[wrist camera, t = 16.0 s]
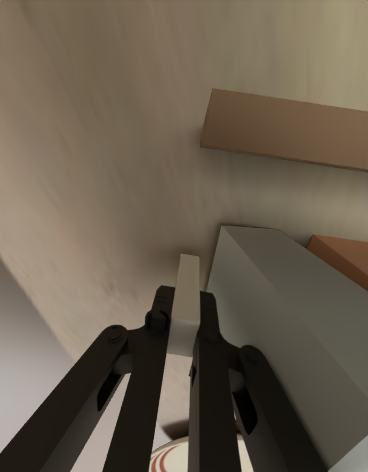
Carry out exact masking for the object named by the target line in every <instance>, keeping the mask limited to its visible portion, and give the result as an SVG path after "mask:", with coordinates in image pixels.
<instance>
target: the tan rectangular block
mask: <svg viewBox="0 0 368 472" xmlns="http://www.w3.org/2000/svg"><path fill="white" fill-rule="evenodd" d="M307 250H308V251H310V252H311V253H313V254H314V255H316V256H317V257H319V258H320V259H321V260H323V261H324V262H326V263H327V264H329V265H330V266H332V267H333V268H335V269H336V270H337V271H339V272H340V273H342V274H343V275H345V276H346V277H348V278H349V279H350V280H352V281H353V282H355V283H356V284H358V285H359V286H361V287H362V288H363V289H365V290H366V291H368V243H367V242H360V241H354V240H347V239H340V238H333V237H327V236H320V235H313V237H312V239H311V241H310V243H309V245H308V248H307Z"/></svg>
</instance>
